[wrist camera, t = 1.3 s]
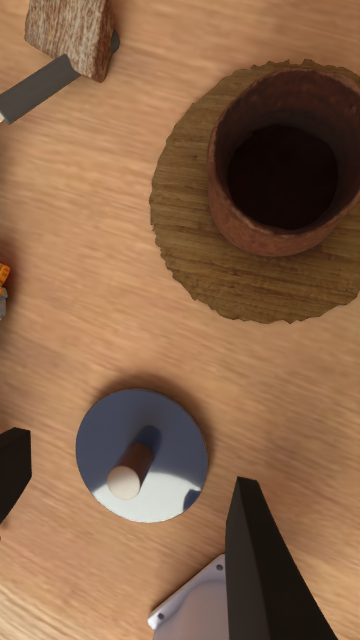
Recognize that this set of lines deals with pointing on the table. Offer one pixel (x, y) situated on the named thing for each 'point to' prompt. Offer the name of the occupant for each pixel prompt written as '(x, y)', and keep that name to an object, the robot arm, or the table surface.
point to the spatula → (41, 86)
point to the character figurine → (3, 289)
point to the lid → (142, 455)
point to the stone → (73, 32)
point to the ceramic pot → (265, 193)
